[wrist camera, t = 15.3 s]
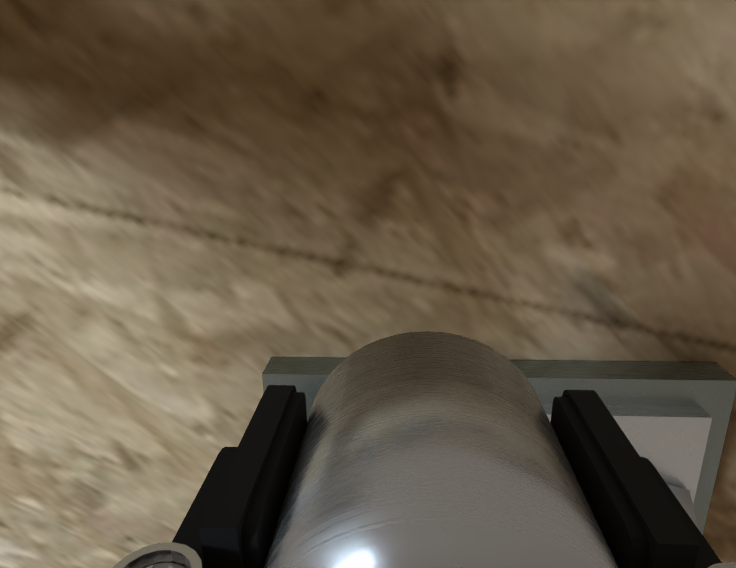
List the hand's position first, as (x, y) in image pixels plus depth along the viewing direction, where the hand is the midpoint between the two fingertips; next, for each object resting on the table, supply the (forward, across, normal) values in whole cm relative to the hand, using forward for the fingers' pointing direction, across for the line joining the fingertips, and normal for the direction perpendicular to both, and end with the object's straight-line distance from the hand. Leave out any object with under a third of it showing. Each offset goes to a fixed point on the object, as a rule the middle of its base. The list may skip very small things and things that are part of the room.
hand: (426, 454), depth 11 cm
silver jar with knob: (0, 0, 0) cm, 0 cm away
